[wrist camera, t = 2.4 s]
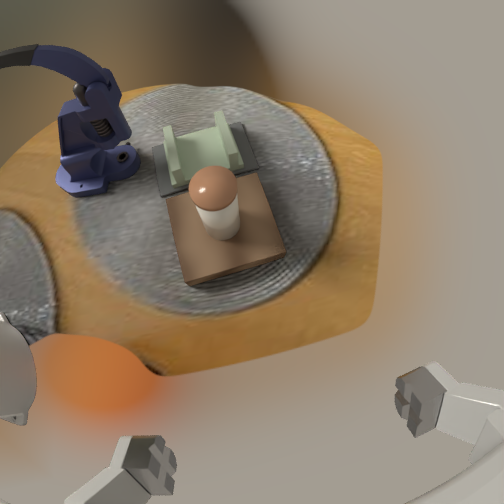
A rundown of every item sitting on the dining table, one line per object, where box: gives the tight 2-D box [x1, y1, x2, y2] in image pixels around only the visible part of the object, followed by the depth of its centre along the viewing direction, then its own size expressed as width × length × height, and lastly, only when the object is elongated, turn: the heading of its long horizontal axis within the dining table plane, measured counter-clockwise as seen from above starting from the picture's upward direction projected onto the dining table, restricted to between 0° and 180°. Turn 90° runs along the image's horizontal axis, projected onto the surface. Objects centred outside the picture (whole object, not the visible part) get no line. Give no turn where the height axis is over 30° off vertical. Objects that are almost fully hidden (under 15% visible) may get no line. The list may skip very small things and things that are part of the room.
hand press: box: [0, 44, 140, 197], centre depth 27 cm, size 19×9×28 cm, turn 94°
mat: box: [152, 122, 259, 197], centre depth 40 cm, size 14×9×1 cm, turn 107°
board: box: [166, 173, 286, 286], centre depth 35 cm, size 12×11×2 cm
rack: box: [163, 111, 244, 188], centre depth 38 cm, size 10×8×4 cm
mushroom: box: [189, 166, 240, 240], centre depth 30 cm, size 4×4×9 cm
